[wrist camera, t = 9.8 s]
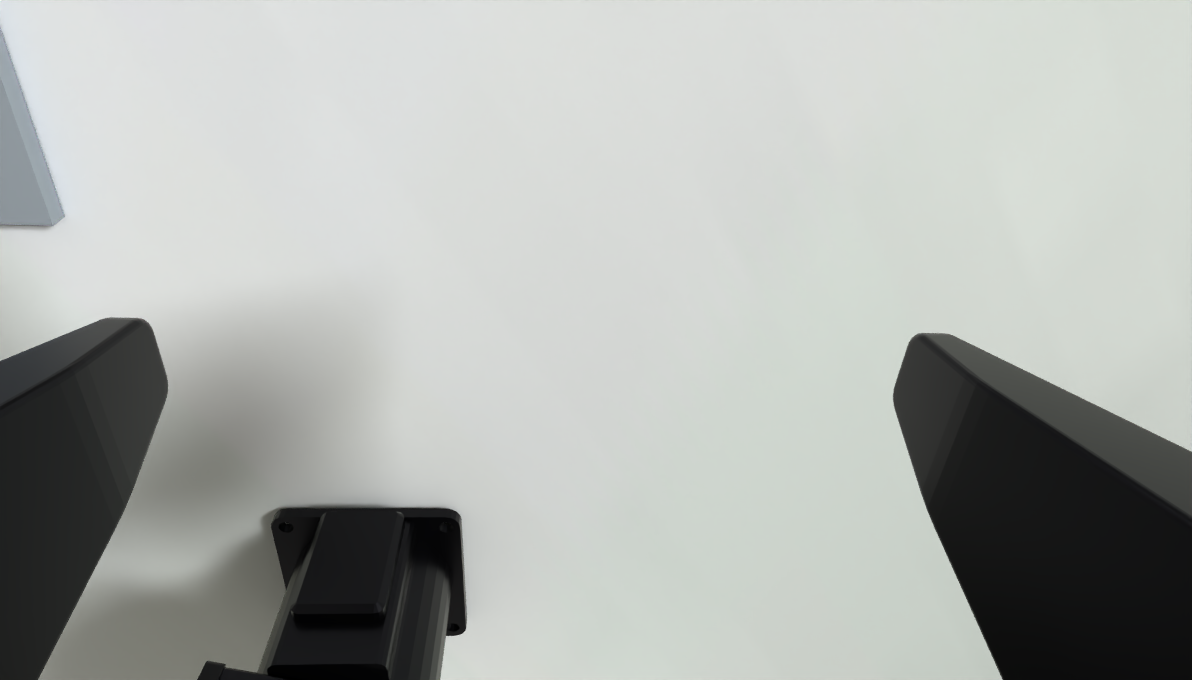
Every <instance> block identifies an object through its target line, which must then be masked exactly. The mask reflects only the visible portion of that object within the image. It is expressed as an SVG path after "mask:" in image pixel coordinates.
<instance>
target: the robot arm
mask: <svg viewBox="0 0 1192 680" xmlns="http://www.w3.org/2000/svg"><path fill="white" fill-rule="evenodd" d="M167 393H168V380H167V375H166V372H165V368H164V365H163V362H162V358H161V355H160V352H159V348H158V345H157V342H156V338H155V335H154V332H153V330H152V327H151V326H150V324H149V323H148V322H146V321H145V320H143V319H140V318H105V319H102V320H99V321H97V322H94V323H92V324H89V325H87V326H85V327H82V328H80V329H77V330H75V331H72V332H70V333H68V334H65V335H63V336H60V337H58V338H55V339H53V340H51V341H48V342H46V343H43V344H41V345H38V346H36V347H34V348H31V349H29V350H26V351H24V352H21V353H19V354H17V355H14V356H12V357H9V358H7V359H4V360H2V361H0V680H38V678H39V676H40V674H41V673H42V671H43V669H44V667H45V665H46V663H47V661H48V659H49V657H50V655H51V653H52V651H53V649H54V647H55V645H56V643H57V641H58V639H59V637H60V636H61V634H62V632H63V630H64V628H65V626H66V624H67V622H68V620H69V618H70V616H71V614H72V612H73V610H74V608H75V606H76V604H77V602H78V600H79V599H80V597H81V595H82V593H83V591H84V589H85V587H86V585H87V583H88V581H89V579H90V577H91V575H92V573H93V571H94V569H95V567H96V565H97V563H98V561H99V560H100V558H101V556H102V554H103V552H104V550H105V548H106V546H107V544H108V542H109V540H110V538H111V536H112V534H113V532H114V530H115V528H116V526H117V524H118V522H119V520H120V518H121V516H122V514H123V512H124V510H125V508H126V505H127V503H128V500H129V498H130V495H131V493H132V491H133V488H134V485H135V483H136V480H137V477H138V474H139V472H140V469H141V466H142V464H143V461H144V458H145V455H146V453H147V450H148V447H149V445H150V442H151V439H152V436H153V434H154V431H155V428H156V426H157V423H158V420H159V417H160V415H161V412H162V409H163V407H164V404H165V401H166V398H167ZM893 402H894V408H895V411H896V415H897V418H898V421H899V424H900V427H901V430H902V434H903V437H904V440H905V443H906V446H907V450H908V453H909V456H910V459H911V462H912V465H913V469H914V472H915V475H916V478H917V481H918V485H919V488H920V491H921V494H922V497H923V500H924V502H925V505H926V508H927V511H928V513H929V515H930V518H931V520H932V523H933V525H934V527H935V530H936V532H937V534H938V536H939V539H940V541H941V543H942V545H943V547H944V550H945V552H946V554H947V556H948V559H949V561H950V563H951V565H952V568H953V570H954V572H955V574H956V576H957V579H958V581H959V583H960V585H961V588H962V590H963V592H964V594H965V597H966V599H967V601H968V603H969V606H970V608H971V610H972V612H973V614H974V617H975V619H976V621H977V623H978V626H979V628H980V630H981V632H982V635H983V637H984V639H985V641H986V643H987V646H988V648H989V650H990V652H991V655H992V657H993V659H994V661H995V664H996V666H997V668H998V670H999V672H1000V675H1001V677H1002V679H1003V680H1192V452H1191V451H1189V450H1187V449H1185V448H1183V447H1181V446H1179V445H1177V444H1175V443H1173V442H1170V441H1168V440H1166V439H1164V438H1162V437H1160V436H1158V435H1156V434H1154V433H1152V432H1150V431H1148V430H1146V429H1144V428H1142V427H1140V426H1138V425H1136V424H1134V423H1131V422H1129V421H1127V420H1125V419H1123V418H1121V417H1119V416H1117V415H1115V414H1113V413H1111V412H1109V411H1107V410H1105V409H1103V408H1101V407H1099V406H1097V405H1095V404H1092V403H1090V402H1088V401H1086V400H1084V399H1082V398H1080V397H1078V396H1076V395H1074V394H1072V393H1070V392H1068V391H1066V390H1064V389H1062V388H1060V387H1058V386H1056V385H1053V384H1051V383H1049V382H1047V381H1045V380H1043V379H1041V378H1039V377H1037V376H1035V375H1033V374H1031V373H1029V372H1027V371H1025V370H1023V369H1021V368H1019V367H1017V366H1014V365H1012V364H1010V363H1008V362H1006V361H1004V360H1002V359H1000V358H998V357H996V356H994V355H992V354H990V353H988V352H986V351H984V350H982V349H980V348H978V347H975V346H973V345H971V344H969V343H967V342H965V341H963V340H961V339H959V338H957V337H955V336H953V335H950V334H945V333H919V334H917V335H915V336H914V337H912V339H911V340H910V342H909V344H908V346H907V350H906V353H905V356H904V359H903V362H902V365H901V368H900V371H899V374H898V377H897V380H896V384H895V387H894V393H893ZM285 522H287V523H290V524H286V523H285ZM444 522H447V523H450V524H444ZM271 528H272V533H273V537H274V541H275V545H276V549H277V553H278V557H279V561H280V566H281V570H282V574H283V578H284V582H285V586H286V593H285V595H284V598H283V601H282V604H281V607H280V610H279V612H278V615H277V618H276V621H275V624H274V627H273V629H272V632H271V635H270V638H269V641H268V644H267V646H266V649H265V652H264V655H263V658H262V661H261V663H260V666H259V669H258V672H257V673H255V672H249V671H243V670H238V669H232V668H226V667H225V666H226V664H222V663H217V662H211V661H206V663H205V665H204V667H203V669H202V671H201V673H200V675H199V677H198V679H197V680H440V677H441V669H442V661H443V654H444V646H445V638H446V636H455V635H460V634H462V633H463V632H464V631H465V630H466V623H467V610H466V592H465V574H464V557H463V539H462V521H461V516H460V515H459V514H458V513H457V512H456V511H454V510H450V509H282V510H280V511H278V512H277V513H276V514H275V516H274V519H273V521H272V523H271Z"/></svg>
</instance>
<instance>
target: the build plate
mask: <svg viewBox="0 0 1192 680" xmlns="http://www.w3.org/2000/svg"><path fill="white" fill-rule="evenodd" d="M64 217H65V215H64V213H63V210H62V207H61V204H60V201H59V198H58V195H57V192H56V189H55V186H54V183H53V180H52V177H51V174H50V171H49V169H48V166H47V163H46V160H45V157H44V154H43V151H42V148H41V145H40V142H39V139H38V136H37V133H36V130H35V127H34V124H33V122H32V119H31V116H30V113H29V110H28V107H27V104H26V101H25V98H24V95H23V92H22V89H21V86H20V83H19V80H18V77H17V75H16V72H15V69H14V66H13V63H12V60H11V57H10V54H9V51H8V48H7V45H6V42H5V39H4V36H3V33H2V31H1V28H0V224H8V225H45V226H53V225H54V224H56V223H57V222H58V221H60V220H61V219H62V218H64Z"/></svg>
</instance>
